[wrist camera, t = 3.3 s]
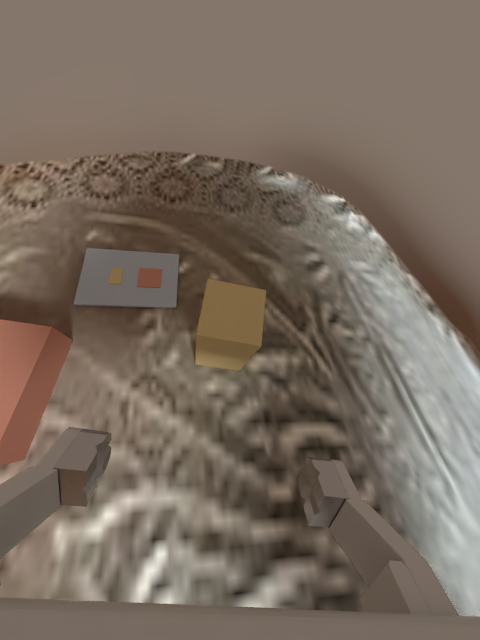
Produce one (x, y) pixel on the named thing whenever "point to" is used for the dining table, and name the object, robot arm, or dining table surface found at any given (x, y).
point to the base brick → (26, 382)
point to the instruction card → (128, 279)
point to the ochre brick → (229, 325)
